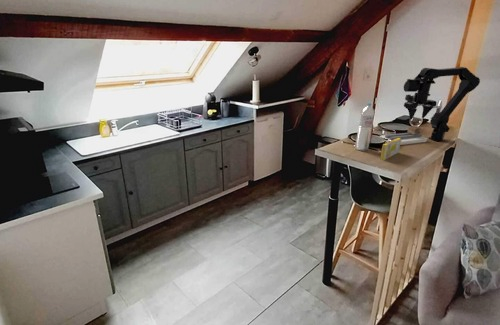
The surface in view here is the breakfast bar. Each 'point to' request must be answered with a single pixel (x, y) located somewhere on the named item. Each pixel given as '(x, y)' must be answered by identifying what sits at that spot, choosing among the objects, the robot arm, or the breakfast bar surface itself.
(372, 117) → the water bottle
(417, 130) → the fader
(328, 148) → the breakfast bar surface
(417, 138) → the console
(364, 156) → the breakfast bar surface
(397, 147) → the candy box
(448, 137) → the breakfast bar surface
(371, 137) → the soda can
